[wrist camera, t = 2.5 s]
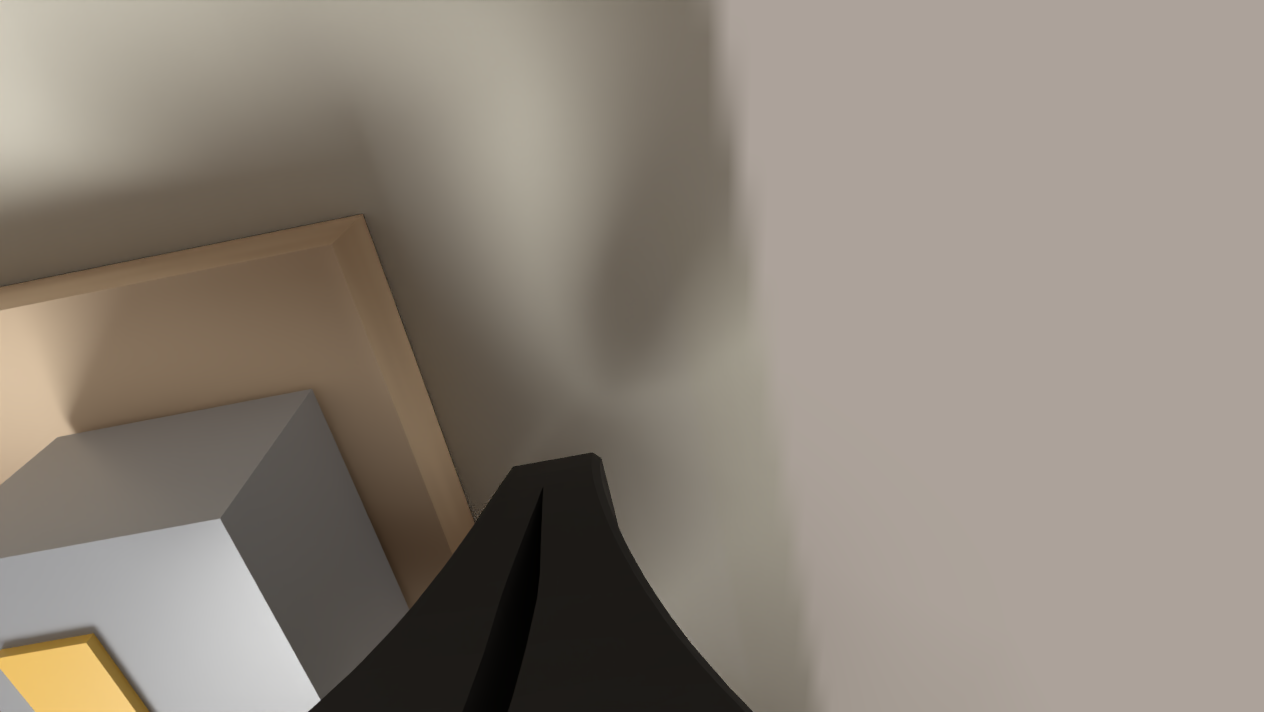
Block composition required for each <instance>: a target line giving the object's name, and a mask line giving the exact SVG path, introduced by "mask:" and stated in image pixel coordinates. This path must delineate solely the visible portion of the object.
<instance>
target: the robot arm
mask: <svg viewBox="0 0 1264 712" xmlns="http://www.w3.org/2000/svg"><path fill="white" fill-rule="evenodd" d="M308 712H753V711H752V710H751V709H750V708H749V707H748V706H747V705H746V704H745V703H744V702H743V701H742V700H741V699H740V698H739V697H738V696H737V695H736V694H735V693H734V692H733V691H732V690H731V689H730V688H729V687H728V685H727V684H726V683H725V682H724V681H723V680H722V679H721V677H720V676H719V675H718V674H717V673H716V672H715V670H714V669H713V668H712V667H711V666H710V665H709V664H708V662H707V661H706V660H705V659H704V658H703V657H702V656H701V654H700V653H699V652H698V651H697V650H696V649H695V647H694V646H693V645H692V644H691V643H690V641H689V640H688V639H687V637H686V636H685V635H684V633H683V632H682V631H681V630H680V628H679V627H678V626H677V624H676V623H675V622H674V620H673V619H672V618H671V616H670V615H669V613H668V612H667V610H666V609H665V607H664V606H663V605H662V603H661V602H660V600H659V599H658V597H657V596H656V594H655V593H654V591H653V590H652V588H651V587H650V585H649V583H648V582H647V580H646V578H645V577H644V575H643V573H642V572H641V570H640V568H639V566H638V565H637V563H636V561H635V559H634V558H633V556H632V554H631V552H630V550H629V548H628V546H627V544H626V542H625V540H624V538H623V536H622V534H621V532H620V529H619V527H618V523H617V519H616V515H615V511H614V507H613V503H612V499H611V495H610V491H609V487H608V483H607V479H606V475H605V471H604V467H603V463H602V459H601V458H600V457H599V456H597V455H595V454H594V453H588V454H582V455H576V456H571V457H565V458H560V459H554V460H548V461H543V462H537V463H532V464H526V465H520V466H515V467H513V468H512V469H511V471H510V472H509V474H508V475H507V476H506V478H505V479H504V481H503V482H502V483H501V485H500V486H499V488H498V489H497V491H496V492H495V494H494V495H493V497H492V498H491V500H490V501H489V503H488V504H487V506H486V507H485V509H484V510H483V512H482V513H481V515H480V516H479V518H478V519H477V521H476V522H475V524H474V525H473V527H472V528H471V529H470V531H469V532H468V534H467V535H466V536H465V538H464V539H463V541H462V542H461V543H460V545H459V546H458V548H457V549H456V550H455V552H454V553H453V555H452V556H451V558H450V559H449V560H448V562H447V563H446V564H445V566H444V567H443V568H442V570H441V571H440V572H439V573H438V575H437V576H436V577H435V578H434V580H433V581H432V582H431V584H430V585H429V586H428V587H427V589H426V590H425V591H424V592H423V594H422V595H421V596H420V597H419V599H418V600H417V601H416V602H415V604H414V605H413V606H412V607H411V609H410V610H409V611H408V612H407V613H406V614H405V615H404V617H403V618H402V619H401V620H400V621H399V622H398V623H397V625H396V626H395V627H394V628H393V629H392V630H391V631H390V632H389V633H388V634H387V636H386V637H385V638H384V639H383V640H382V641H381V642H380V643H379V644H378V645H377V646H376V647H375V648H374V649H373V650H372V651H371V652H370V653H369V654H368V655H367V657H366V658H365V659H364V660H363V661H362V662H361V663H360V664H359V665H358V666H357V667H356V668H355V669H354V670H353V671H352V672H351V673H350V674H349V675H347V676H346V677H345V678H344V679H343V680H342V681H341V682H340V683H339V684H338V685H337V686H336V687H334V688H333V689H332V690H331V691H330V692H329V693H328V694H327V695H326V696H325V697H324V698H322V699H321V700H320V701H319V702H318V703H317V704H316V705H315V706H314V707H313V708H312V709H310V710H309V711H308Z"/></svg>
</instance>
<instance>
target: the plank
mask: <svg viewBox="0 0 1264 712" xmlns="http://www.w3.org/2000/svg"><path fill="white" fill-rule="evenodd" d="M308 389H312V390H313V392H314V395H315V397H316V399H317V401H318V404H319V406H320V408H321V410H322V413H323V415H324V417H325V419H326V422H327V424H328V426H329V429H330V431H331V433H332V435H333V438H334V440H335V442H336V444H337V447H338V449H339V451H340V453H341V456H342V458H343V460H344V463H345V465H346V467H347V469H348V472H349V474H350V476H351V478H352V481H353V483H354V485H355V487H356V490H357V492H358V494H359V497H360V499H361V501H362V503H363V506H364V508H365V510H366V512H367V515H368V517H369V519H370V521H371V524H372V526H373V528H374V531H375V533H376V535H377V537H378V540H379V542H380V544H381V546H382V549H383V551H384V553H385V555H386V558H387V560H388V562H389V565H390V567H391V569H392V571H393V574H394V576H395V578H396V580H397V583H398V585H399V587H400V589H401V592H402V594H403V596H404V599H405V601H406V603H407V605H408V608H409V610H410V609H411V607H412V606H413V605H414V604H415V602H416V601H417V600H418V599H419V597H420V596H421V595H422V594H423V592H424V591H425V590H426V589H427V587H428V586H429V585H430V584H431V582H432V581H433V580H434V578H435V577H436V576H437V575H438V573H439V572H440V571H441V570H442V568H443V567H444V566H445V564H446V563H447V562H448V560H449V559H450V558H451V556H452V555H453V553H454V552H455V550H456V549H457V548H458V546H459V545H460V543H461V542H462V541H463V539H464V538H465V536H466V535H467V534H468V532H469V531H470V529H471V528H472V527H473V525H474V524H475V523H474V520H473V517H472V514H471V512H470V509H469V506H468V503H467V500H466V498H465V495H464V492H463V489H462V487H461V484H460V481H459V478H458V476H457V473H456V470H455V467H454V465H453V462H452V459H451V456H450V454H449V451H448V448H447V445H446V443H445V440H444V437H443V434H442V431H441V429H440V426H439V423H438V420H437V418H436V415H435V412H434V409H433V407H432V404H431V401H430V398H429V396H428V393H427V390H426V387H425V385H424V382H423V379H422V376H421V374H420V371H419V368H418V365H417V362H416V360H415V357H414V354H413V351H412V349H411V346H410V343H409V340H408V338H407V335H406V332H405V329H404V327H403V324H402V321H401V318H400V316H399V313H398V310H397V307H396V305H395V302H394V299H393V296H392V293H391V291H390V288H389V285H388V282H387V280H386V277H385V274H384V271H383V269H382V266H381V263H380V260H379V258H378V255H377V252H376V249H375V247H374V244H373V241H372V238H371V236H370V233H369V230H368V227H367V224H366V222H365V219H364V216H363V214H360V215H355V216H350V217H345V218H340V219H335V220H330V221H325V222H320V223H315V224H310V225H305V226H300V227H295V228H290V229H285V230H280V231H276V232H271V233H266V234H261V235H256V236H251V237H246V238H241V239H236V240H231V241H226V242H221V243H216V244H211V245H206V246H201V247H196V248H191V249H186V250H181V251H176V252H171V253H167V254H162V255H157V256H152V257H147V258H142V259H137V260H132V261H127V262H122V263H117V264H112V265H107V266H102V267H97V268H92V269H87V270H82V271H77V272H72V273H67V274H62V275H58V276H53V277H48V278H43V279H38V280H33V281H28V282H23V283H18V284H13V285H8V286H3V287H0V485H1V484H2V483H3V482H5V481H6V480H7V479H8V478H9V477H11V476H12V475H13V474H14V473H15V472H16V471H18V470H19V469H20V468H21V467H22V466H24V465H25V464H26V463H27V462H28V461H30V460H31V459H32V458H33V457H34V456H36V455H37V454H38V453H39V452H40V451H41V450H43V449H44V448H45V447H46V446H47V445H49V444H50V443H51V442H52V441H53V440H55V439H56V438H57V437H60V436H66V435H71V434H76V433H82V432H87V431H92V430H97V429H103V428H108V427H113V426H118V425H124V424H129V423H134V422H139V421H145V420H150V419H155V418H161V417H166V416H171V415H176V414H182V413H187V412H192V411H197V410H203V409H208V408H213V407H219V406H224V405H229V404H234V403H240V402H245V401H250V400H255V399H261V398H266V397H271V396H277V395H282V394H287V393H292V392H298V391H303V390H308ZM0 712H1V711H0Z"/></svg>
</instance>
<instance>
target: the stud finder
mask: <svg viewBox="0 0 1264 712" xmlns="http://www.w3.org/2000/svg"><path fill="white" fill-rule="evenodd" d="M408 611H409V608H408V605H407V603H406V601H405V599H404V596H403V594H402V592H401V589H400V587H399V585H398V583H397V580H396V578H395V576H394V574H393V571H392V569H391V567H390V565H389V562H388V560H387V558H386V555H385V553H384V551H383V549H382V546H381V544H380V542H379V540H378V537H377V535H376V533H375V531H374V528H373V526H372V524H371V521H370V519H369V517H368V515H367V512H366V510H365V508H364V506H363V503H362V501H361V499H360V497H359V494H358V492H357V490H356V487H355V485H354V483H353V481H352V478H351V476H350V474H349V472H348V469H347V467H346V465H345V463H344V460H343V458H342V456H341V453H340V451H339V449H338V447H337V444H336V442H335V440H334V438H333V435H332V433H331V431H330V429H329V426H328V424H327V422H326V419H325V417H324V415H323V413H322V410H321V408H320V406H319V404H318V401H317V399H316V397H315V395H314V392H313V390H312V389H308V390H303V391H298V392H292V393H287V394H282V395H277V396H271V397H266V398H261V399H255V400H250V401H245V402H240V403H234V404H229V405H224V406H219V407H213V408H208V409H203V410H197V411H192V412H187V413H182V414H176V415H171V416H166V417H161V418H155V419H150V420H145V421H139V422H134V423H129V424H124V425H118V426H113V427H108V428H103V429H97V430H92V431H87V432H82V433H76V434H71V435H66V436H60V437H57V438H56V439H55V440H53V441H52V442H51V443H50V444H49V445H47V446H46V447H45V448H44V449H43V450H41V451H40V452H39V453H38V454H37V455H36V456H34V457H33V458H32V459H31V460H30V461H28V462H27V463H26V464H25V465H24V466H22V467H21V468H20V469H19V470H18V471H16V472H15V473H14V474H13V475H12V476H11V477H9V478H8V479H7V480H6V481H5V482H3V483H2V484H1V485H0V711H1V712H308V711H309V710H310V709H312V708H313V707H314V706H315V705H316V704H317V703H318V702H319V701H320V700H321V699H322V698H324V697H325V696H326V695H327V694H328V693H329V692H330V691H331V690H332V689H333V688H334V687H336V686H337V685H338V684H339V683H340V682H341V681H342V680H343V679H344V678H345V677H346V676H347V675H349V674H350V673H351V672H352V671H353V670H354V669H355V668H356V667H357V666H358V665H359V664H360V663H361V662H362V661H363V660H364V659H365V658H366V657H367V655H368V654H369V653H370V652H371V651H372V650H373V649H374V648H375V647H376V646H377V645H378V644H379V643H380V642H381V641H382V640H383V639H384V638H385V637H386V636H387V634H388V633H389V632H390V631H391V630H392V629H393V628H394V627H395V626H396V625H397V623H398V622H399V621H400V620H401V619H402V618H403V617H404V615H405V614H406V613H407V612H408Z"/></svg>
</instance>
